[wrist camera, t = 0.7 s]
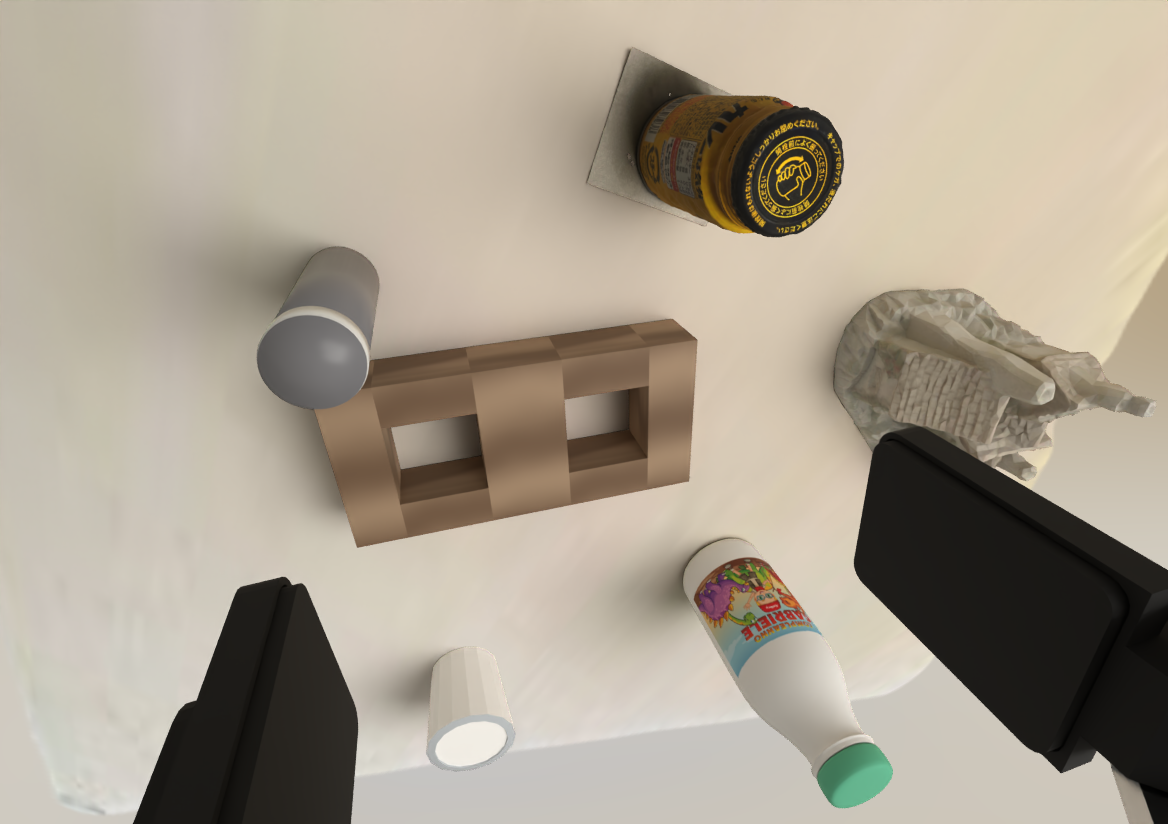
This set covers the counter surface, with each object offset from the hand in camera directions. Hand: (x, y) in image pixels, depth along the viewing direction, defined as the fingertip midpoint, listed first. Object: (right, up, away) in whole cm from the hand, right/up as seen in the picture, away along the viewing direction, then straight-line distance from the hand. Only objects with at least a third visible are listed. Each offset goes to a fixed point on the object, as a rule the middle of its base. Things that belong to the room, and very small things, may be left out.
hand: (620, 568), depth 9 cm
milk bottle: (+12, -12, +44) cm, 47 cm away
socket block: (-5, +2, +31) cm, 31 cm away
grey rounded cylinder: (-14, +10, +24) cm, 30 cm away
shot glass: (-11, -20, +42) cm, 48 cm away
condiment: (+5, +19, +25) cm, 32 cm away
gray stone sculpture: (+26, +5, +39) cm, 47 cm away
